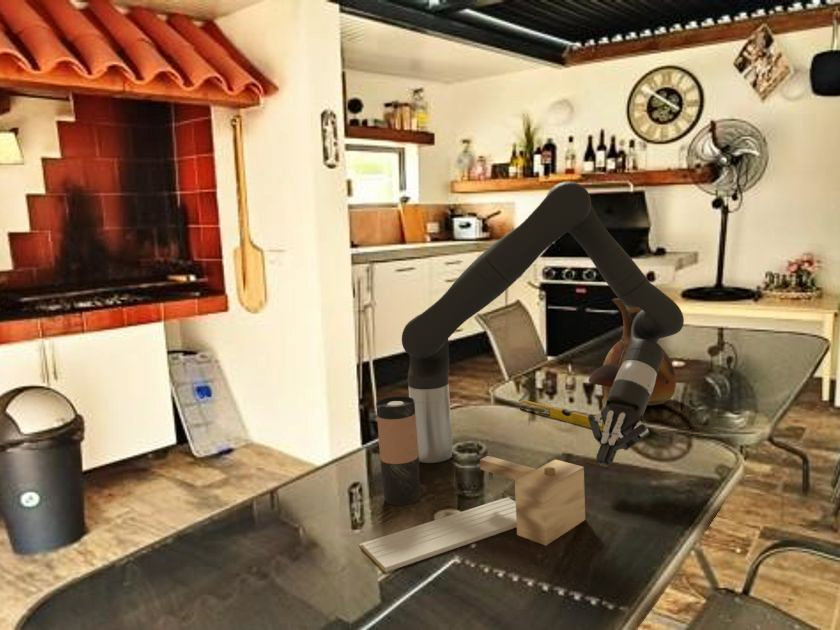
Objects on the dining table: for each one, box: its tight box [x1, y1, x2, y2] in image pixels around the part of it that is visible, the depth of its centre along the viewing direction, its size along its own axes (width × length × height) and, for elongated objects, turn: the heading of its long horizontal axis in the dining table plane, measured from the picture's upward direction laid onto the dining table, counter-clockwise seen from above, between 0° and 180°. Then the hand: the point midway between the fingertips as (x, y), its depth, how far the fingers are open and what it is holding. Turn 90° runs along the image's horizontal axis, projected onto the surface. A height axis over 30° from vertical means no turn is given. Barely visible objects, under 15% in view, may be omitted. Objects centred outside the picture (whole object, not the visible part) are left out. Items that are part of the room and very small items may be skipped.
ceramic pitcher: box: [601, 297, 677, 406], centre depth 184 cm, size 20×20×30 cm
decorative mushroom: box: [588, 364, 620, 409], centre depth 171 cm, size 11×11×15 cm
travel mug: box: [375, 395, 421, 507], centre depth 133 cm, size 8×8×20 cm
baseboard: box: [358, 490, 517, 573], centre depth 119 cm, size 31×3×12 cm
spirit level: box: [518, 398, 604, 431], centre depth 175 cm, size 33×1×3 cm, turn 38°
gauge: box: [479, 455, 586, 546], centre depth 122 cm, size 18×12×11 cm, turn 44°
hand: (602, 464), depth 129 cm, fingers closed
